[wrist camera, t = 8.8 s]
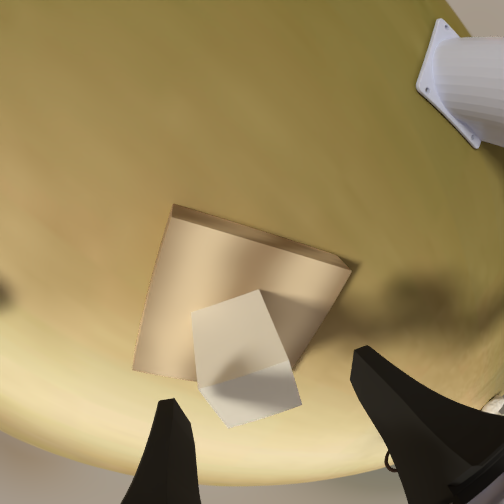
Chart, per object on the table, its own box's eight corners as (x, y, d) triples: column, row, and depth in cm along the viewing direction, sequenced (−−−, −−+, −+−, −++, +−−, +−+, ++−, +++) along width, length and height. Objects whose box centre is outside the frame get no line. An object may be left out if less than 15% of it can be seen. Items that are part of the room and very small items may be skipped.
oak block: (332, 251, 22) (352, 270, 19) (268, 364, 26) (277, 389, 23) (173, 200, 17) (171, 216, 15) (135, 342, 22) (132, 370, 19)
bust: (494, 387, 65) (506, 402, 54) (503, 396, 64) (514, 411, 53) (471, 412, 68) (480, 429, 57) (480, 420, 66) (489, 437, 56)
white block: (258, 289, 18) (288, 359, 13) (274, 337, 20) (302, 404, 15) (191, 312, 18) (198, 389, 12) (215, 357, 20) (228, 428, 15)
